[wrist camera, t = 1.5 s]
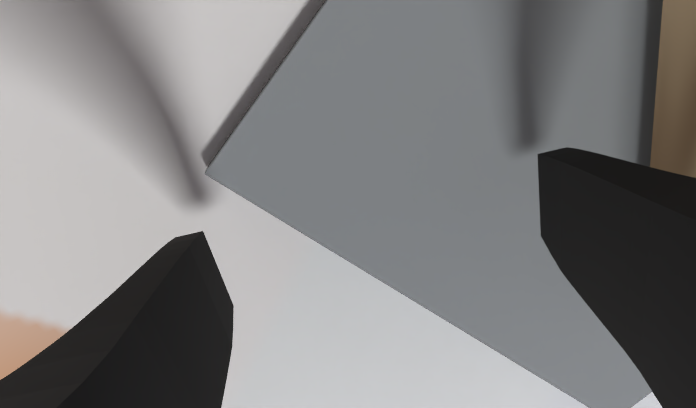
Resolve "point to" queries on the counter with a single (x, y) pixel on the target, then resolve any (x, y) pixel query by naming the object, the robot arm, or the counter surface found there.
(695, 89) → the gate
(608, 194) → the robot arm
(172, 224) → the counter surface
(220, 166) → the mat
